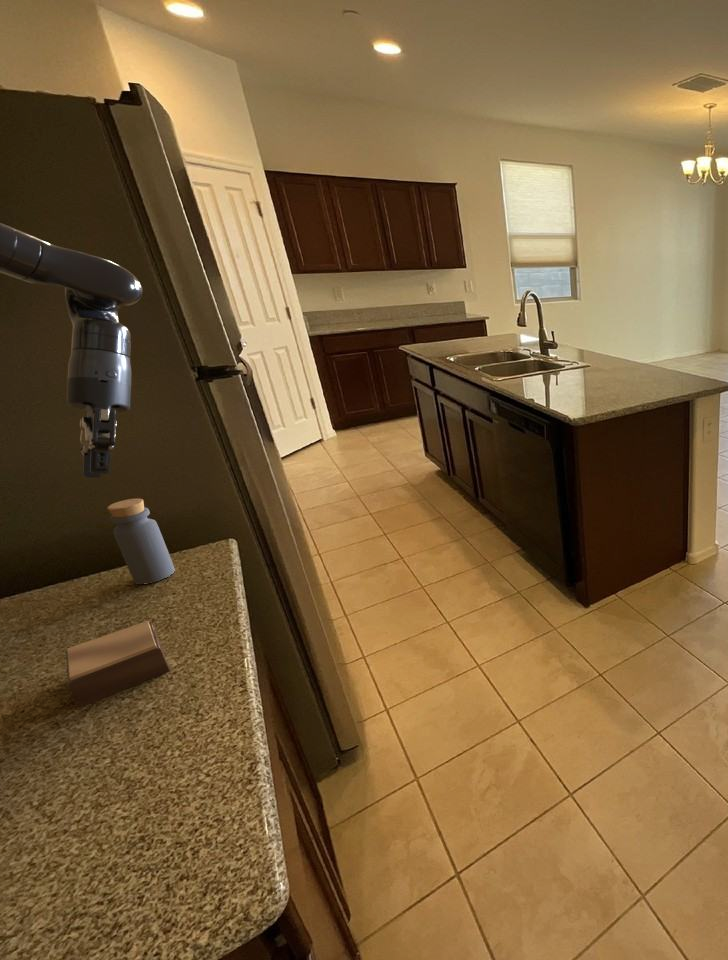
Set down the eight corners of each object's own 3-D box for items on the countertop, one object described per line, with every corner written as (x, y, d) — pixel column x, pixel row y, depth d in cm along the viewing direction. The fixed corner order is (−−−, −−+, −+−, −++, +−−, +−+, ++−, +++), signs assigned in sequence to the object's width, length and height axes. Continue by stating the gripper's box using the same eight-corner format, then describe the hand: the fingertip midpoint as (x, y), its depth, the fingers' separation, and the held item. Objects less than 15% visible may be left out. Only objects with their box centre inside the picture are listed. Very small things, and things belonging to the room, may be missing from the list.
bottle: (126, 582, 95) (94, 508, 90) (162, 566, 101) (133, 495, 95) (148, 587, 94) (116, 512, 88) (183, 571, 99) (155, 498, 93)
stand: (77, 674, 73) (63, 648, 71) (160, 643, 79) (150, 618, 78) (80, 707, 67) (65, 680, 66) (170, 670, 73) (158, 645, 72)
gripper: (63, 384, 90) (58, 478, 89) (72, 367, 81) (67, 470, 80) (123, 392, 96) (119, 479, 95) (138, 377, 87) (134, 473, 86)
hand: (96, 475), depth 87 cm, fingers open, 8 cm apart
